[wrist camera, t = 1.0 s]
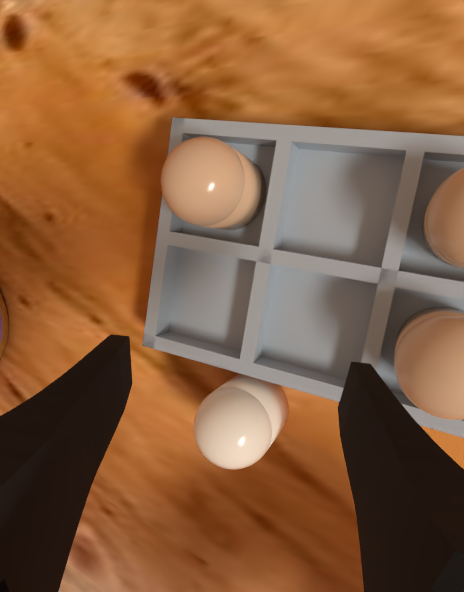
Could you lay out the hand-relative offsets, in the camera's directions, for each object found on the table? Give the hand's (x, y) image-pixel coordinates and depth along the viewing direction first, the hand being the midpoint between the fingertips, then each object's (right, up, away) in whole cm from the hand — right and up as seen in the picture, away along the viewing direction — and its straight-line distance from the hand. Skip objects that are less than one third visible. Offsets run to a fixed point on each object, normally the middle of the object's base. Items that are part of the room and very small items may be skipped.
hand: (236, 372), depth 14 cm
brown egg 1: (0, +9, +11) cm, 14 cm away
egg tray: (+5, +4, +10) cm, 13 cm away
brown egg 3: (+10, 0, +8) cm, 13 cm away
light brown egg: (+1, -4, +13) cm, 14 cm away
